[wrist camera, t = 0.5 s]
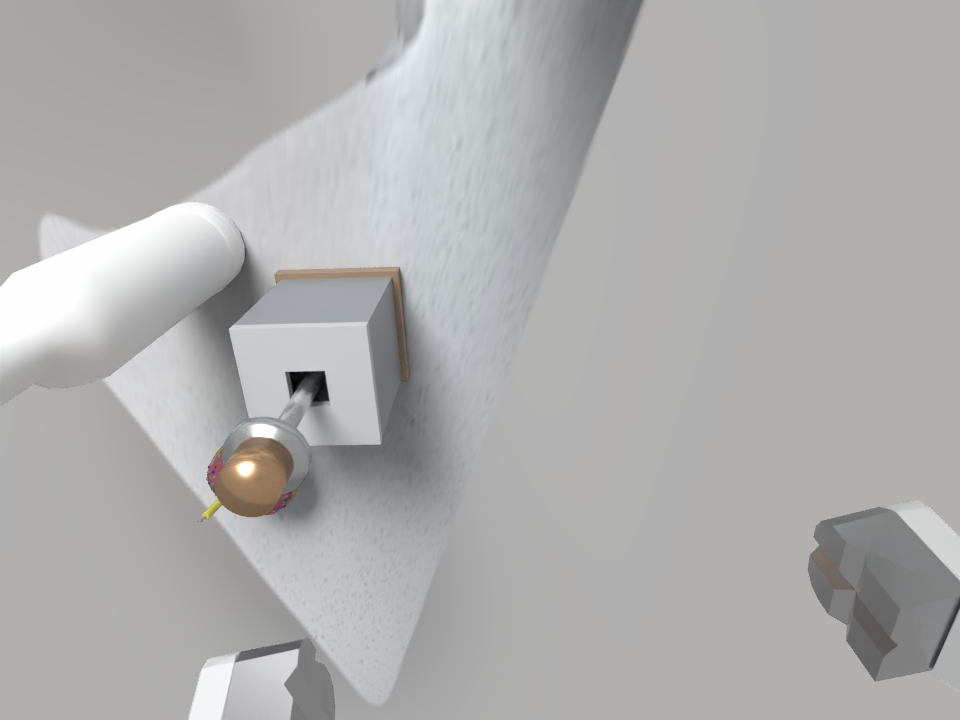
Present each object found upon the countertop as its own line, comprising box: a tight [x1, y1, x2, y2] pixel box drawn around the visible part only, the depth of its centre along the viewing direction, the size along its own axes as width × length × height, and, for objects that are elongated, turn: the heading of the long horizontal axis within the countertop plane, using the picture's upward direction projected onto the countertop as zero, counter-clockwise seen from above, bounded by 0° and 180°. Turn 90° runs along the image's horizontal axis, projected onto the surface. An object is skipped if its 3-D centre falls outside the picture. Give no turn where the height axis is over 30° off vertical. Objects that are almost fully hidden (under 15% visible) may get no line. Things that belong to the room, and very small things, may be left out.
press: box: [229, 267, 409, 446], centre depth 52 cm, size 11×11×13 cm
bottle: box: [0, 202, 245, 406], centre depth 41 cm, size 8×8×30 cm
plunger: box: [214, 371, 330, 517], centre depth 43 cm, size 8×8×18 cm
